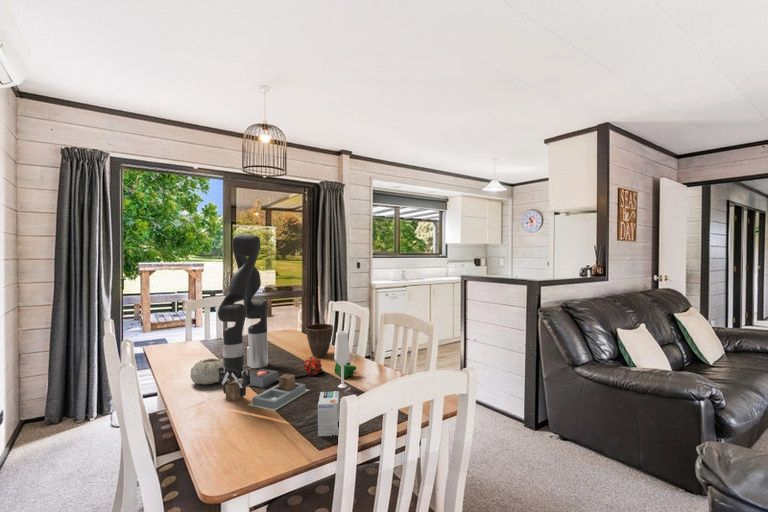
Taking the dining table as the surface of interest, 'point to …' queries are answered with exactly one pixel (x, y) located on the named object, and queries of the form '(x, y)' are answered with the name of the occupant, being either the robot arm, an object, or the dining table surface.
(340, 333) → the champagne flute
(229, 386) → the walnut billet
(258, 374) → the button
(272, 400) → the gray compartment tray
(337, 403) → the light bulb box
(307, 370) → the dragon fruit
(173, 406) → the dining table surface
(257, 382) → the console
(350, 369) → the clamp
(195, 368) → the decorative shell
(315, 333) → the plant pot
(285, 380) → the block
